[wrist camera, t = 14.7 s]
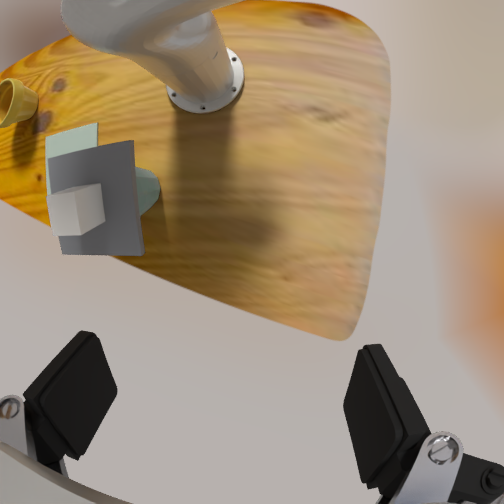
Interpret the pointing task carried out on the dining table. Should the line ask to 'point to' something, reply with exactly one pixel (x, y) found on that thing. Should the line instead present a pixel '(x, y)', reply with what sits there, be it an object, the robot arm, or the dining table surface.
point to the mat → (70, 143)
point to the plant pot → (16, 102)
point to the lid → (96, 201)
